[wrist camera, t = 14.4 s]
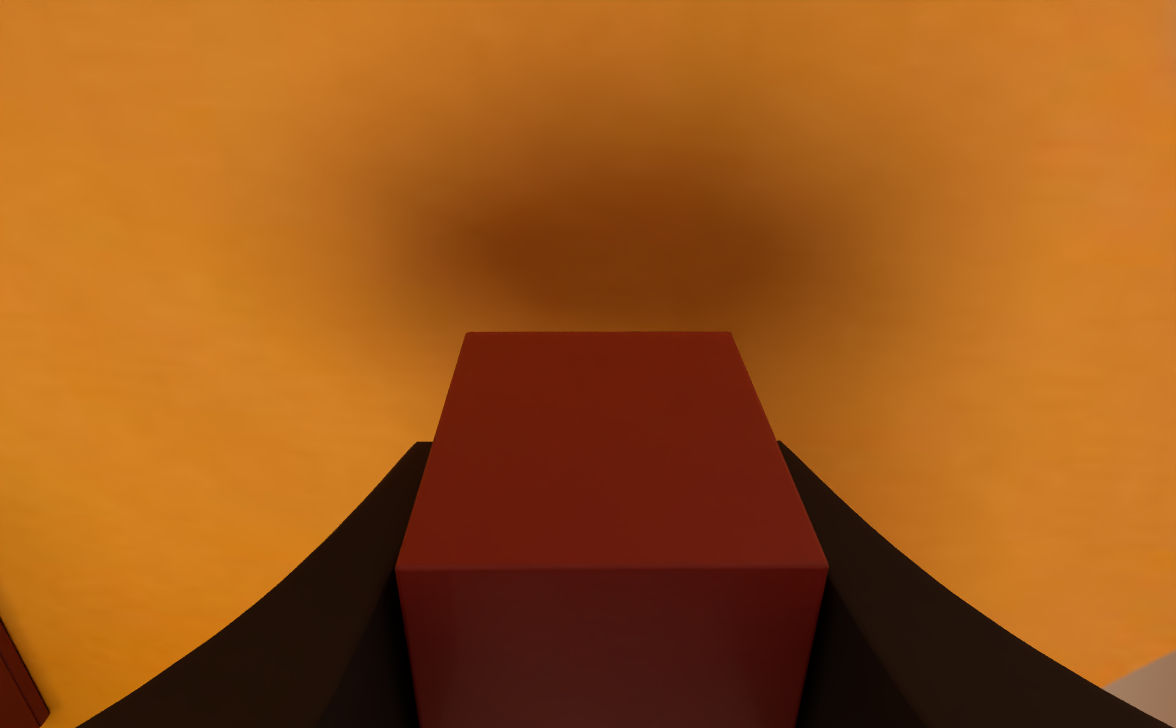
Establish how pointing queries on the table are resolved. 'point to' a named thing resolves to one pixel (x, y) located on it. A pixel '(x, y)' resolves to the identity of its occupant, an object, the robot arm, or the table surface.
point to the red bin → (17, 691)
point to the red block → (607, 541)
